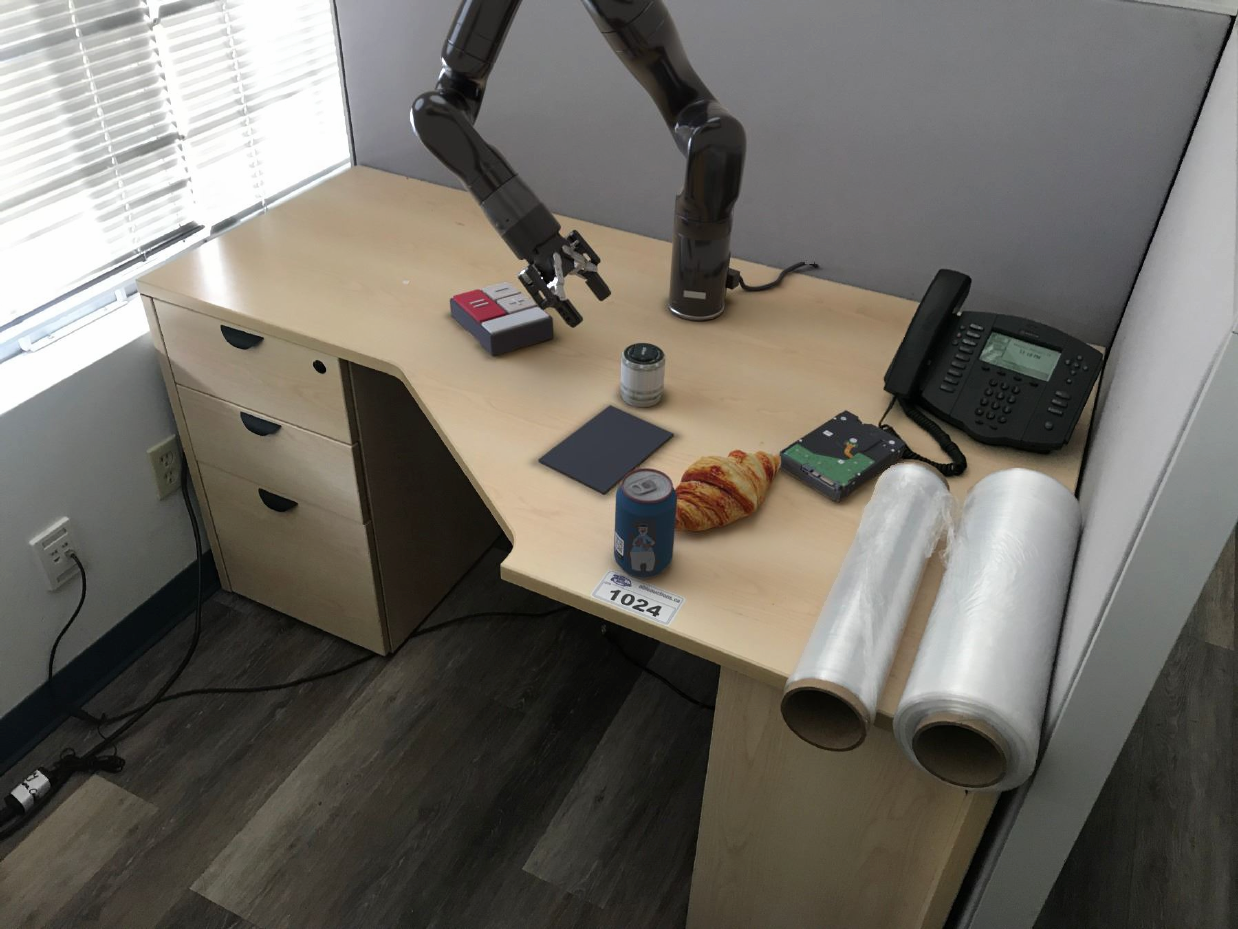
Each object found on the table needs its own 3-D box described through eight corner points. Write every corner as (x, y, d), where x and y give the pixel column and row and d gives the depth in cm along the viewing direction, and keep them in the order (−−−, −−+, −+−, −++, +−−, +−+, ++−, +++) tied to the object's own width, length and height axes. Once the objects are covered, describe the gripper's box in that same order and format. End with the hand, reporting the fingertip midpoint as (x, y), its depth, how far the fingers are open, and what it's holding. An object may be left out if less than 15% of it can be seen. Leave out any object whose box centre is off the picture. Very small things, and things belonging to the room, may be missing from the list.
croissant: (757, 478, 135) (742, 424, 133) (813, 483, 127) (799, 425, 125) (645, 546, 124) (628, 487, 121) (700, 555, 116) (682, 493, 113)
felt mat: (610, 407, 142) (610, 404, 142) (673, 435, 137) (673, 433, 137) (538, 461, 132) (538, 459, 131) (604, 494, 127) (604, 492, 126)
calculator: (508, 277, 163) (553, 313, 153) (510, 301, 166) (554, 338, 156) (447, 294, 159) (490, 332, 148) (450, 318, 161) (492, 357, 151)
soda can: (653, 535, 121) (658, 458, 113) (682, 571, 116) (690, 493, 109) (603, 552, 118) (605, 475, 111) (631, 590, 114) (635, 511, 106)
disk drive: (840, 424, 140) (775, 467, 132) (844, 408, 139) (778, 450, 130) (903, 458, 135) (838, 505, 126) (907, 441, 133) (842, 488, 124)
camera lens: (617, 406, 142) (618, 360, 137) (623, 382, 147) (624, 336, 142) (660, 411, 141) (663, 364, 136) (665, 386, 146) (668, 341, 141)
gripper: (508, 222, 128) (586, 321, 132) (561, 184, 139) (632, 277, 142) (476, 251, 134) (551, 345, 137) (530, 212, 144) (599, 301, 147)
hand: (592, 310), depth 139 cm, fingers open, 8 cm apart
